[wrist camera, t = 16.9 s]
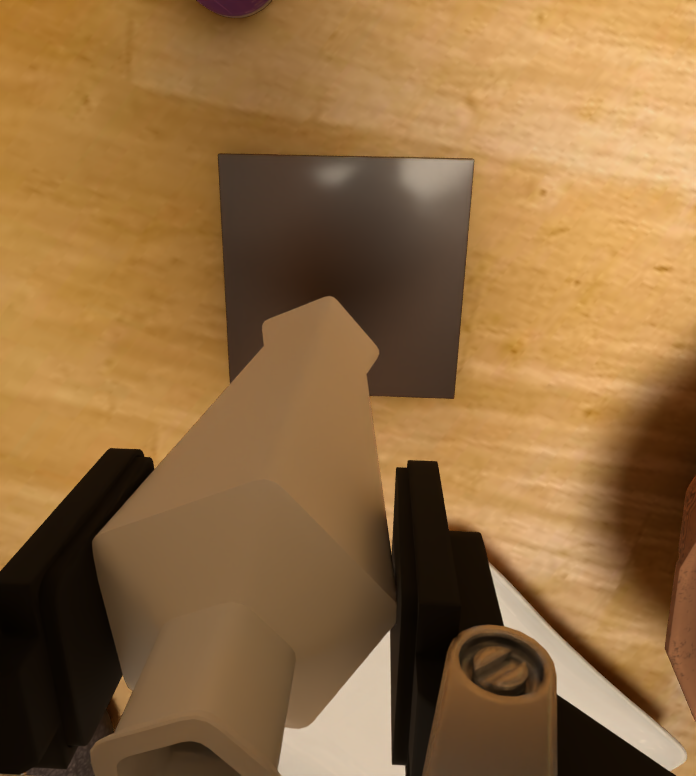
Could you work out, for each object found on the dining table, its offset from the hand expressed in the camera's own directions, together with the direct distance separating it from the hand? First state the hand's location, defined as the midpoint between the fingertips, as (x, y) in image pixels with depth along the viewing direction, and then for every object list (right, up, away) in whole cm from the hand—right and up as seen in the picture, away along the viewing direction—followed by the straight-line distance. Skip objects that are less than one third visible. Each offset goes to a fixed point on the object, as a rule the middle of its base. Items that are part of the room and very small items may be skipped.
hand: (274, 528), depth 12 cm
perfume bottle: (0, +4, +9) cm, 10 cm away
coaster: (+1, +8, +21) cm, 22 cm away
